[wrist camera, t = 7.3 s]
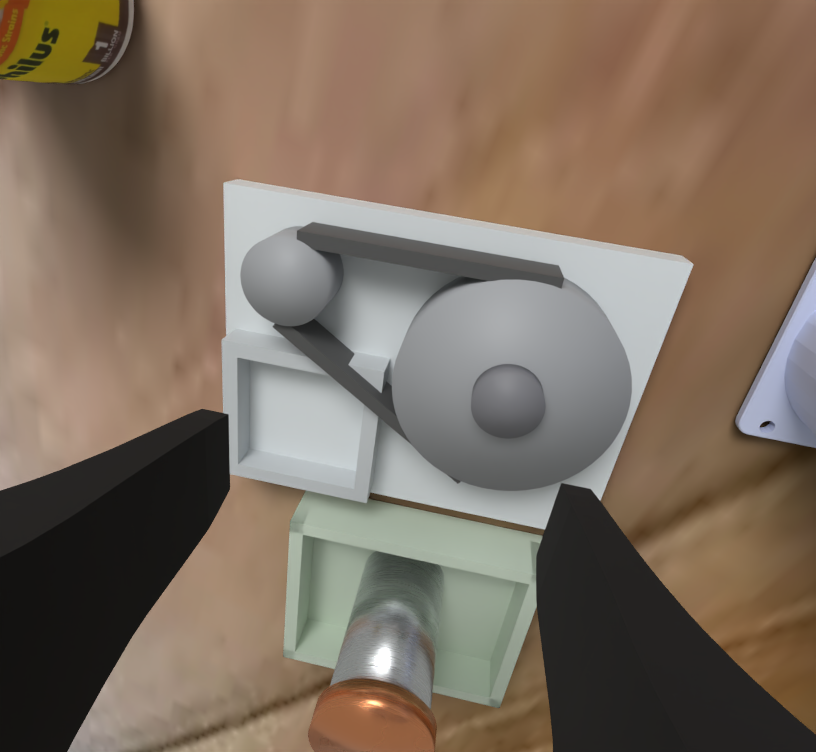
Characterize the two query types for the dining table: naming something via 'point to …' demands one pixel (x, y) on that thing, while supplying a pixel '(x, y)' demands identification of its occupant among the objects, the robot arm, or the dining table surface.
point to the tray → (426, 541)
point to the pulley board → (386, 313)
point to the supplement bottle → (62, 39)
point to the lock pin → (385, 663)
